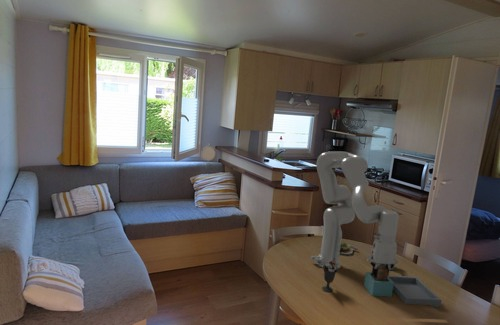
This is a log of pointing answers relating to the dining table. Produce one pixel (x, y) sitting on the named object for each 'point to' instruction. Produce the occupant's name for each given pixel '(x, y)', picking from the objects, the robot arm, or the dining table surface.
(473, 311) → the dining table surface
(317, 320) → the dining table surface
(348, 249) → the salad plate
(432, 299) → the tray
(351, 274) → the dining table surface
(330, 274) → the sundae
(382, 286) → the teal open box
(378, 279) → the peg
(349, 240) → the dining table surface
